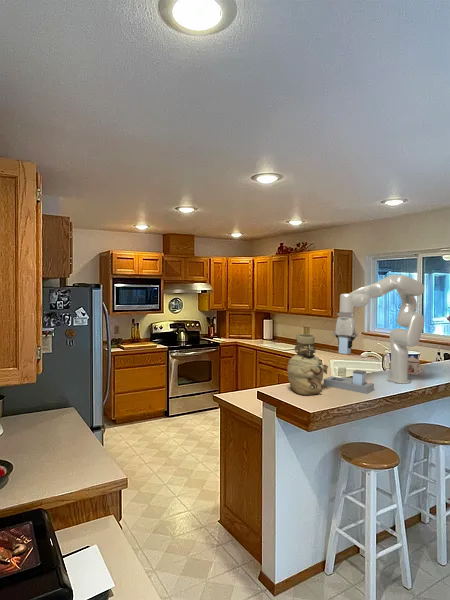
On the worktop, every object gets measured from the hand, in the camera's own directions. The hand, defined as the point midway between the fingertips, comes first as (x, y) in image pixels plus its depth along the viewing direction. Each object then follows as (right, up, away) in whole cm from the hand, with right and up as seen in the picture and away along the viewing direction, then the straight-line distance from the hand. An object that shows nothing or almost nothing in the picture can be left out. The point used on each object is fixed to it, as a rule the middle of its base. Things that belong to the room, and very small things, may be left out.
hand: (344, 347), depth 224 cm
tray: (+3, -22, +5) cm, 23 cm away
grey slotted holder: (-1, -22, -9) cm, 24 cm away
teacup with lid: (+55, -22, +33) cm, 68 cm away
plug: (0, -3, 0) cm, 3 cm away
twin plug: (+3, -21, -13) cm, 25 cm away
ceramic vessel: (-25, -22, -12) cm, 36 cm away
